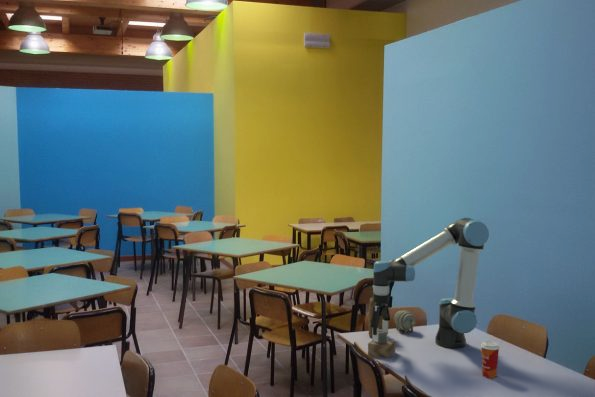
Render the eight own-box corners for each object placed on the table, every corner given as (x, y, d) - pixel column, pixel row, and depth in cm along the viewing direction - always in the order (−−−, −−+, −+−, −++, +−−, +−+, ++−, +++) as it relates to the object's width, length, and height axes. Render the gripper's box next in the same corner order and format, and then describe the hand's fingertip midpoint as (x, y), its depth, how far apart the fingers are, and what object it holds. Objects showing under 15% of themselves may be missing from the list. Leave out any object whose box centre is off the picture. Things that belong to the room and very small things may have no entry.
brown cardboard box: (394, 353, 272) (395, 340, 272) (388, 359, 264) (388, 346, 263) (375, 349, 277) (375, 337, 277) (368, 355, 268) (368, 343, 268)
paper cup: (477, 372, 247) (478, 340, 246) (495, 372, 247) (496, 341, 246) (483, 379, 239) (483, 346, 238) (501, 379, 239) (502, 346, 238)
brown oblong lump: (383, 338, 293) (383, 300, 292) (368, 338, 294) (369, 300, 293) (382, 332, 304) (382, 295, 303) (368, 332, 305) (368, 295, 304)
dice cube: (378, 343, 267) (378, 333, 267) (372, 340, 272) (372, 330, 271) (386, 342, 269) (387, 332, 269) (380, 339, 274) (380, 329, 274)
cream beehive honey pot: (401, 325, 317) (402, 306, 316) (423, 333, 303) (423, 313, 302) (387, 328, 311) (387, 308, 311) (408, 336, 297) (408, 315, 296)
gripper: (382, 287, 281) (381, 329, 283) (364, 298, 260) (363, 343, 261) (397, 289, 278) (396, 331, 279) (379, 300, 256) (378, 346, 257)
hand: (380, 337), depth 270 cm, fingers open, 13 cm apart
